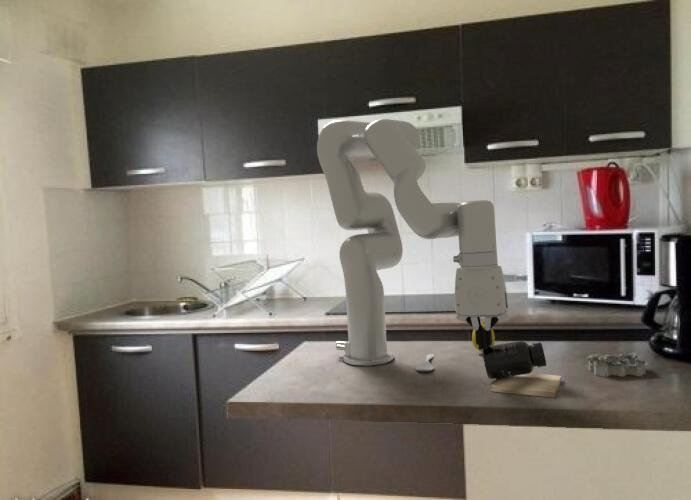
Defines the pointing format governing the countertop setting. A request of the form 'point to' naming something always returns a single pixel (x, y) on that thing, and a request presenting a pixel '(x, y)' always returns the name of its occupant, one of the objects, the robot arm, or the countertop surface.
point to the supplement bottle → (513, 359)
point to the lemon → (475, 338)
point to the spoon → (426, 365)
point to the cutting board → (528, 384)
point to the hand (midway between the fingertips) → (484, 348)
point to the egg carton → (617, 364)
